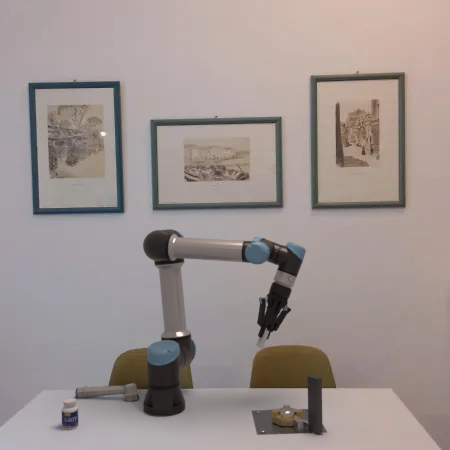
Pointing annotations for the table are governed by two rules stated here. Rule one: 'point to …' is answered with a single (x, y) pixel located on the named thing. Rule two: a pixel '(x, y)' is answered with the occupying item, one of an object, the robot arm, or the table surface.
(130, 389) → the grey elongated piece
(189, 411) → the table surface
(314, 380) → the grey and tan piece
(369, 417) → the table surface
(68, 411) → the pill bottle
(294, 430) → the flange
